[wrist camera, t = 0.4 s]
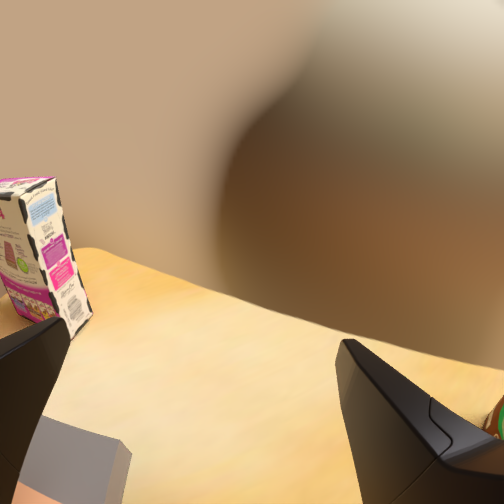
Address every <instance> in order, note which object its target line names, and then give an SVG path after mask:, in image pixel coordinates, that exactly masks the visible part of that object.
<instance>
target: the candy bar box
mask: <svg viewBox="0 0 504 504" xmlns="http://www.w3.org/2000/svg"><path fill="white" fill-rule="evenodd" d="M0 276H1V279H2V281H3V283H4V286H5V287H6V290H7V292H8V294H9V297H10V299H11V301H12V303H13V305H14V307H15V309H16V311H17V313H18V314H19V315H21V316H23V317H25V318H27V319H29V320H31V321H33V322H35V323H39V322H41V321H43V320H45V319H48V318H50V317H53V316H57V317H62V318H64V320H65V322H66V325H67V328H68V331H69V334H70V338H71V340H72V339H73V338H74V337H75V336H76V334H77V333H78V332H79V331H80V329H81V328H82V327H83V326H84V325H85V324H86V323H87V322H88V321H89V319H90V318H91V317H92V315H93V311H92V309H91V306H90V303H89V301H88V298H87V295H86V292H85V289H84V286H83V283H82V280H81V278H80V274H79V271H78V268H77V264H76V261H75V258H74V255H73V251H72V248H71V243H70V240H69V236H68V233H67V228H66V224H65V220H64V216H63V211H62V206H61V202H60V197H59V192H58V186H57V181H56V177H55V176H54V177H25V178H9V179H1V180H0Z"/></svg>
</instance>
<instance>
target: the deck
mask: <svg viewBox="0 0 504 504" xmlns="http://www.w3.org/2000/svg"><path fill="white" fill-rule="evenodd" d="M131 456H132V453H131V452H130V451H129V450H128V449H127V448H126V447H125V445H124V444H123V443H122V442H121V441H120V440H118V439H114V438H110V437H107V436H103V435H99V434H96V433H92V432H89V431H86V430H83V429H79V428H76V427H73V426H70V425H67V424H65V423H62V422H59V421H56V420H54V419H51V418H48V417H46V416H43V415H41V417H40V420H39V422H38V425H37V427H36V430H35V432H34V435H33V438H32V440H31V443H30V446H29V448H28V451H27V454H26V457H25V460H24V463H23V466H22V469H21V472H20V476H19V479H18V481H19V482H21V483H22V484H24V485H26V486H28V487H30V488H31V489H33V490H35V491H37V492H39V493H41V494H43V495H45V496H47V497H49V498H51V499H53V500H55V501H58V502H60V503H62V504H121V502H122V497H123V493H124V488H125V483H126V478H127V474H128V469H129V465H130V461H131Z"/></svg>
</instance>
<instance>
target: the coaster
mask: <svg viewBox="0 0 504 504" xmlns="http://www.w3.org/2000/svg"><path fill="white" fill-rule="evenodd" d="M12 504H62V503H60V502H58V501H55V500H53V499H51V498H49V497H47V496H45V495H43V494H41V493H39V492H37V491H35V490H33V489H31V488H30V487H28V486H26V485H24V484H22V483H21V482H19V481H18V482H17V486H16V489H15V493H14V496H13V500H12Z"/></svg>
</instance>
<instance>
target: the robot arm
mask: <svg viewBox="0 0 504 504" xmlns="http://www.w3.org/2000/svg"><path fill="white" fill-rule="evenodd" d="M70 342H71V338H70V334H69V331H68V328H67V325H66V322H65V320H64V318H62V317H57V316H53V317H50V318H48V319H45V320H43V321H41V322H39V323H36V324H34V325H32V326H29V327H27V328H25V329H22V330H20V331H18V332H16V333H13V334H11V335H9V336H6V337H4V338H2V339H0V504H12V500H13V496H14V493H15V489H16V486H17V482H18V479H19V476H20V472H21V469H22V466H23V463H24V460H25V457H26V454H27V451H28V448H29V446H30V443H31V440H32V438H33V435H34V432H35V430H36V427H37V425H38V422H39V420H40V417H41V415H42V412H43V410H44V408H45V405H46V403H47V401H48V399H49V396H50V394H51V392H52V390H53V387H54V385H55V383H56V381H57V378H58V376H59V373H60V370H61V367H62V365H63V362H64V359H65V356H66V354H67V351H68V348H69V346H70ZM335 367H336V375H337V382H338V390H339V398H340V405H341V410H342V414H343V418H344V422H345V427H346V431H347V435H348V439H349V443H350V447H351V451H352V456H353V460H354V464H355V469H356V473H357V478H358V482H359V487H360V492H361V497H362V501H363V504H504V440H501V439H498V438H496V437H494V436H492V435H490V434H489V433H487V432H485V431H483V430H482V429H480V428H478V427H477V426H475V425H473V424H472V423H470V422H468V421H467V420H465V419H463V418H462V417H460V416H459V415H457V414H455V413H454V412H452V411H451V410H449V409H448V408H447V407H445V406H444V405H442V404H441V403H440V402H438V401H437V400H435V399H434V398H433V397H431V398H430V395H429V394H427V393H426V392H425V391H423V390H422V389H421V388H419V387H418V386H417V385H415V384H414V383H413V382H411V381H410V380H409V379H407V378H406V377H405V376H403V375H402V374H401V373H399V372H398V371H397V370H395V369H394V368H393V367H391V366H390V365H389V364H387V363H386V362H385V361H383V360H382V359H381V358H379V357H378V356H377V355H375V354H374V353H373V352H372V351H370V350H369V349H368V348H366V347H365V346H364V345H362V344H361V343H360V342H358V341H357V340H355V339H343V340H341V342H340V345H339V349H338V353H337V357H336V361H335Z"/></svg>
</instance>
